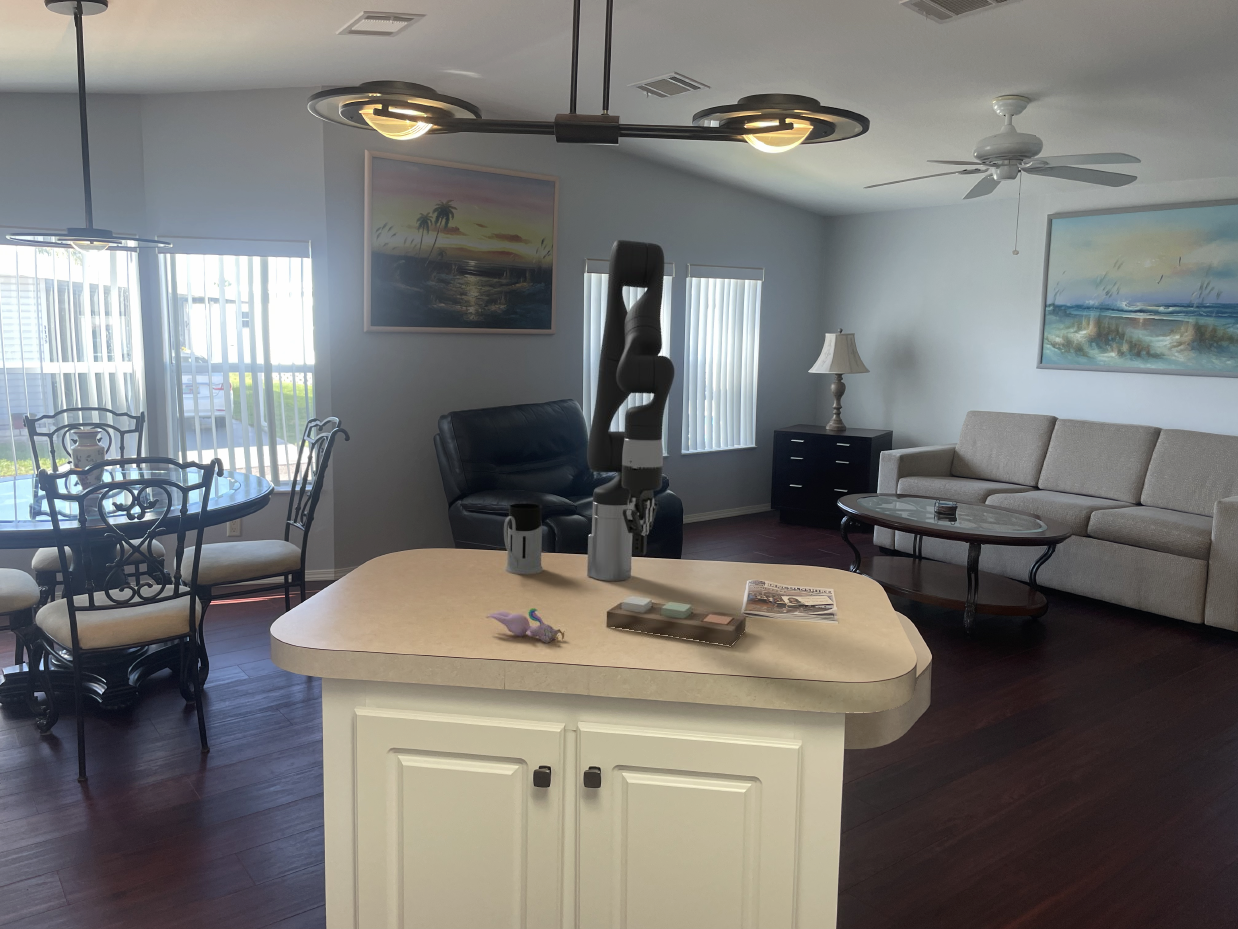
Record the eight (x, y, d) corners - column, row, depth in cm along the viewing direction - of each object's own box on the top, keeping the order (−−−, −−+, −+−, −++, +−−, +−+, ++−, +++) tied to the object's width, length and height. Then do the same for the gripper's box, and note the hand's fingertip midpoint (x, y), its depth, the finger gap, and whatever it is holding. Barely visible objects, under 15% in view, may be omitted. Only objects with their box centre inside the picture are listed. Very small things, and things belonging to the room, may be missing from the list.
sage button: (661, 622, 166) (661, 607, 166) (668, 616, 170) (669, 601, 170) (683, 625, 165) (684, 611, 164) (691, 619, 169) (691, 605, 168)
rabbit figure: (566, 645, 161) (494, 619, 166) (572, 614, 160) (500, 589, 165) (551, 655, 155) (477, 629, 161) (557, 623, 154) (482, 597, 160)
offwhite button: (621, 616, 169) (621, 601, 169) (629, 610, 173) (630, 596, 173) (642, 619, 168) (643, 605, 167) (651, 613, 172) (651, 599, 171)
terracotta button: (702, 635, 163) (702, 620, 163) (709, 628, 168) (709, 614, 167) (725, 639, 162) (726, 624, 161) (731, 632, 166) (732, 617, 166)
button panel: (606, 627, 168) (606, 611, 167) (626, 613, 177) (626, 598, 176) (730, 647, 159) (731, 630, 158) (745, 631, 168) (746, 616, 167)
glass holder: (549, 567, 211) (550, 505, 209) (521, 581, 198) (523, 514, 196) (516, 563, 214) (517, 501, 212) (486, 576, 201) (487, 510, 199)
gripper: (636, 458, 174) (633, 545, 176) (610, 465, 162) (607, 559, 164) (673, 461, 172) (669, 550, 174) (648, 468, 159) (645, 563, 161)
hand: (639, 554), depth 169 cm, fingers closed
